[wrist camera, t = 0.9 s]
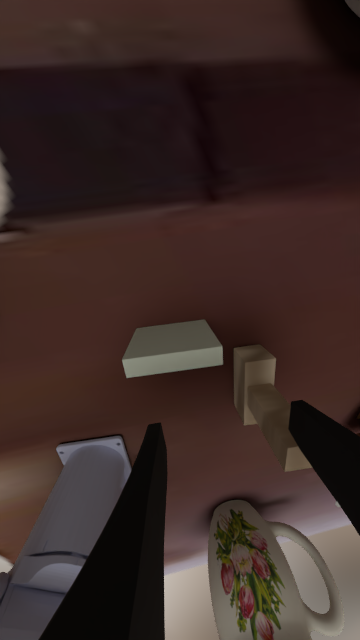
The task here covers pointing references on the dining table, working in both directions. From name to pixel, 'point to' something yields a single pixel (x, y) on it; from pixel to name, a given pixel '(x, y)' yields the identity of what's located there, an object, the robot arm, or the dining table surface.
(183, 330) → the tile
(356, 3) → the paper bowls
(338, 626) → the pitcher
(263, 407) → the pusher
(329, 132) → the dining table surface
